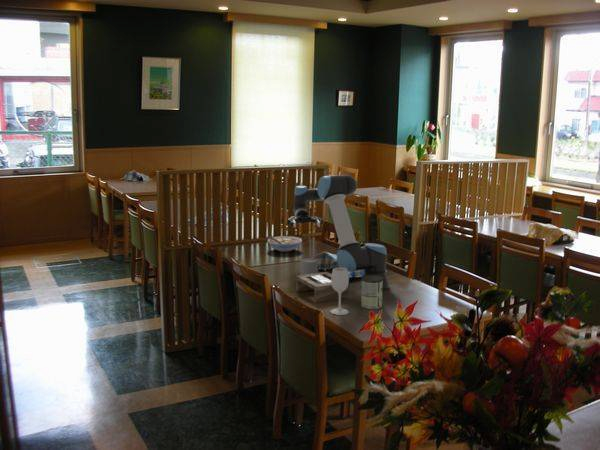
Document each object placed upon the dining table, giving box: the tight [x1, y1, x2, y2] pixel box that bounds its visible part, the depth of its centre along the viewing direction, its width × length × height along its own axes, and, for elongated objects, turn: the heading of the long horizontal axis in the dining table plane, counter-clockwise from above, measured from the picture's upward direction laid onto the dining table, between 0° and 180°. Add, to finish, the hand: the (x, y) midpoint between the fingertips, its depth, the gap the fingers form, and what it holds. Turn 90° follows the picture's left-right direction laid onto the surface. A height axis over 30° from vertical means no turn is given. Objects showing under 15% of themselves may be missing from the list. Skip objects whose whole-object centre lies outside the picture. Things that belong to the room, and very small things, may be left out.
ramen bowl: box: [266, 235, 303, 253], centre depth 416 cm, size 25×23×8 cm
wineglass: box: [329, 266, 350, 316], centre depth 296 cm, size 9×9×21 cm
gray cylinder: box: [299, 257, 318, 275], centre depth 346 cm, size 10×10×12 cm
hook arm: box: [310, 275, 331, 284], centre depth 324 cm, size 15×6×2 cm, turn 27°
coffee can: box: [360, 275, 383, 310], centre depth 306 cm, size 10×10×14 cm
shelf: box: [295, 271, 349, 303], centre depth 325 cm, size 22×18×8 cm
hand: (307, 224), depth 350 cm, fingers open, 13 cm apart
